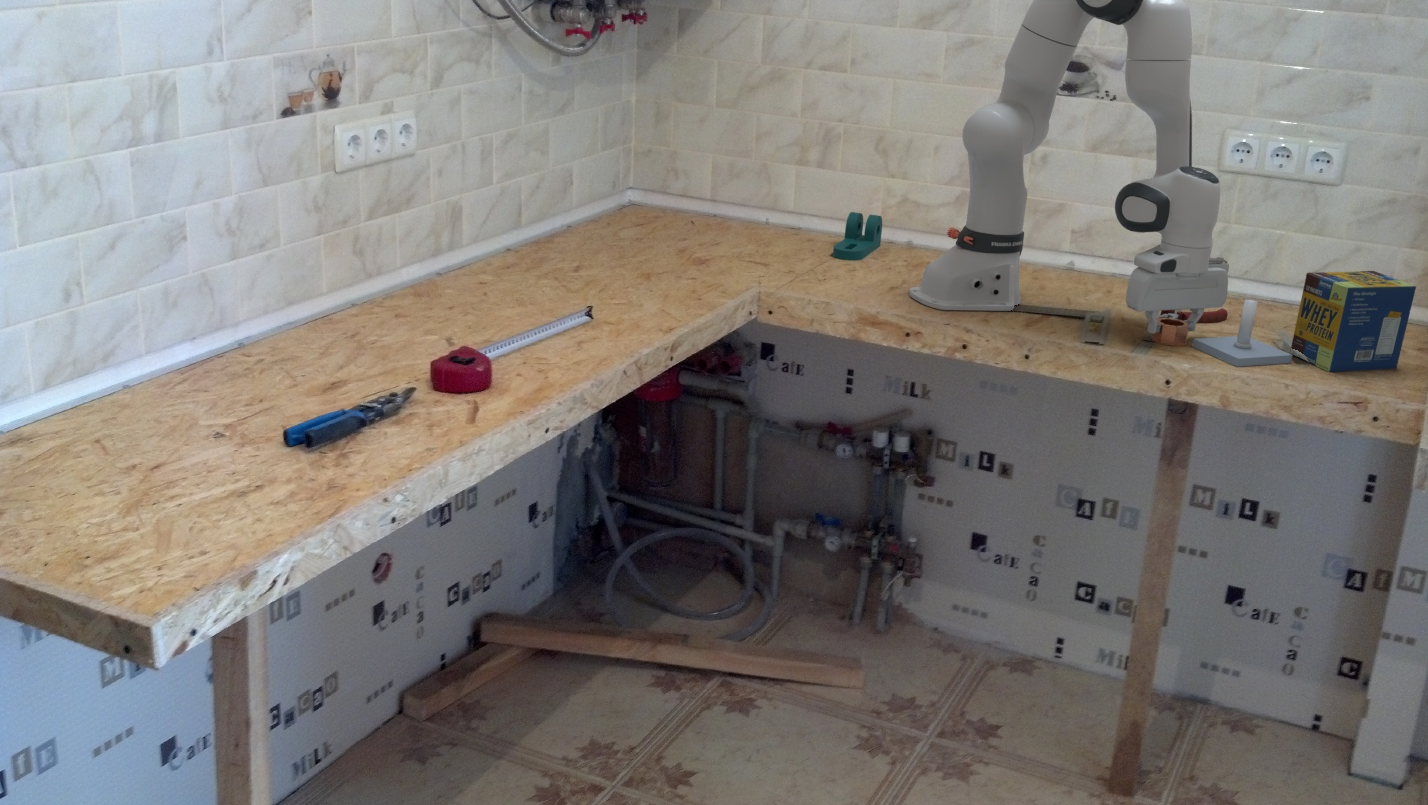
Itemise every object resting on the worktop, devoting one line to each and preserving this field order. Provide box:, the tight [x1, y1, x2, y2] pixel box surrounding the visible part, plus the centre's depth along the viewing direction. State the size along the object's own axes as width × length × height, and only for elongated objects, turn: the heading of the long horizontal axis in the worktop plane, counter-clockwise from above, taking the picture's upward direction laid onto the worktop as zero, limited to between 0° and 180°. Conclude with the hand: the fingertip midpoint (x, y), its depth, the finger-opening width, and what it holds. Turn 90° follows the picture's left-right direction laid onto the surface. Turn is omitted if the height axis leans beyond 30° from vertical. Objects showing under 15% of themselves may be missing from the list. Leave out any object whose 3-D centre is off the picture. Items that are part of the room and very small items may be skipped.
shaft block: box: [1191, 299, 1293, 368], centre depth 244 cm, size 12×12×10 cm
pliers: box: [1147, 308, 1228, 325], centre depth 266 cm, size 12×20×3 cm, turn 136°
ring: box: [1151, 317, 1190, 347], centre depth 251 cm, size 6×6×4 cm
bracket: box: [832, 211, 883, 262], centre depth 305 cm, size 18×7×8 cm, turn 158°
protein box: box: [1290, 270, 1417, 373], centre depth 243 cm, size 10×15×16 cm
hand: (1170, 331), depth 251 cm, fingers open, 6 cm apart
